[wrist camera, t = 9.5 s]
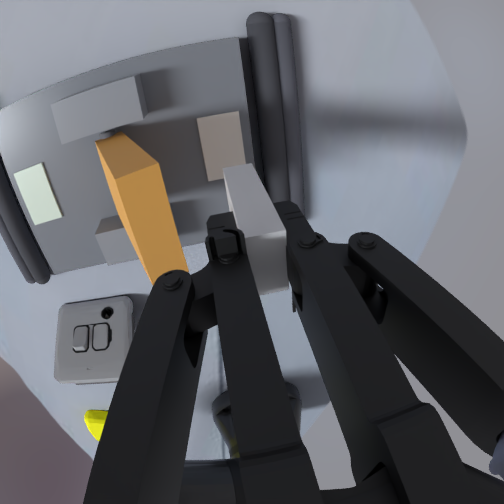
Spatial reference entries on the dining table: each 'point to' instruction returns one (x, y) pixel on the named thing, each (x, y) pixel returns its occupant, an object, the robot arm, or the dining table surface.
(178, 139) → the breaker panel
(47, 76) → the dining table surface
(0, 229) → the cable bundle
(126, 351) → the electrical switch
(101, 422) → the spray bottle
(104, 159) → the lever
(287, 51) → the cable bundle
